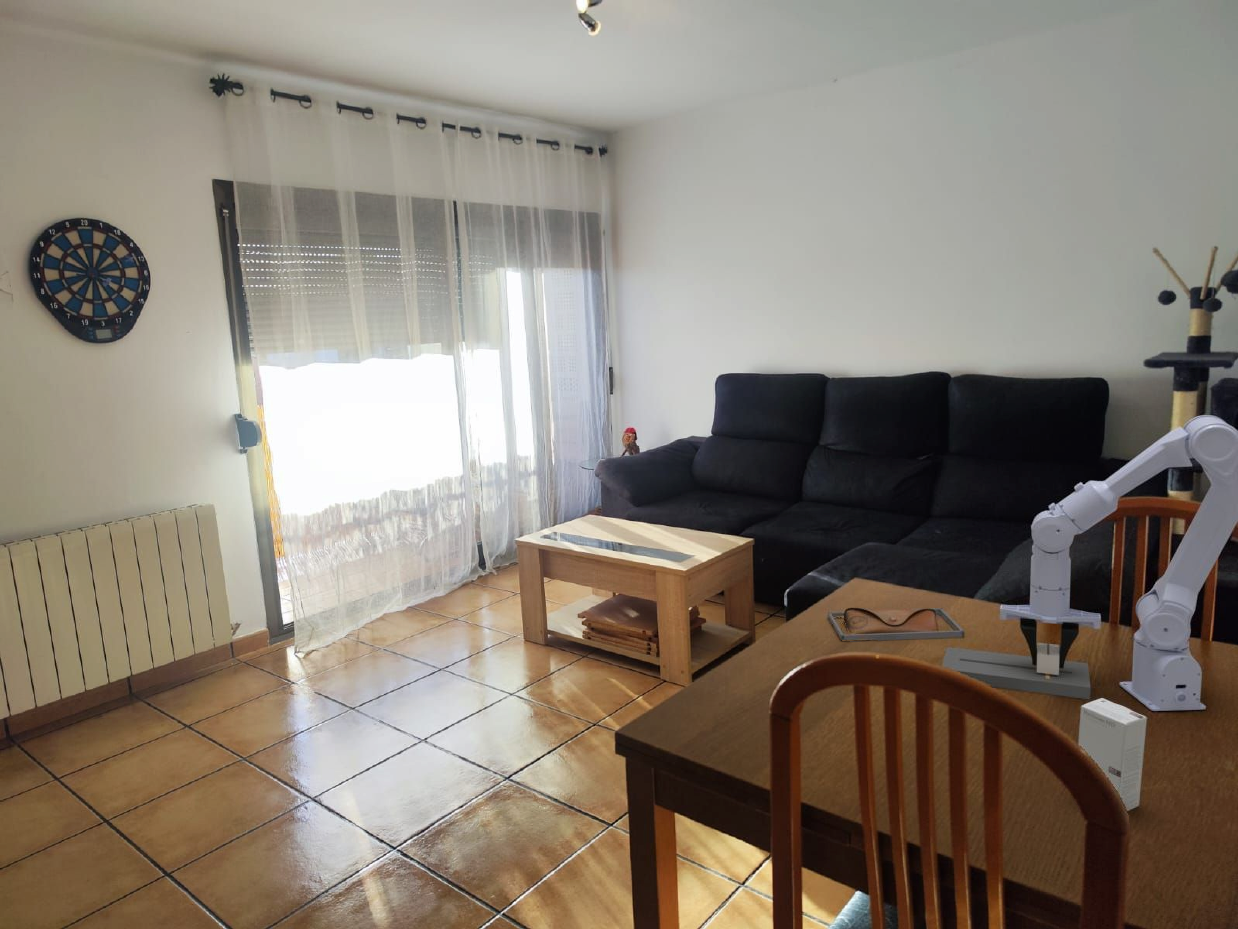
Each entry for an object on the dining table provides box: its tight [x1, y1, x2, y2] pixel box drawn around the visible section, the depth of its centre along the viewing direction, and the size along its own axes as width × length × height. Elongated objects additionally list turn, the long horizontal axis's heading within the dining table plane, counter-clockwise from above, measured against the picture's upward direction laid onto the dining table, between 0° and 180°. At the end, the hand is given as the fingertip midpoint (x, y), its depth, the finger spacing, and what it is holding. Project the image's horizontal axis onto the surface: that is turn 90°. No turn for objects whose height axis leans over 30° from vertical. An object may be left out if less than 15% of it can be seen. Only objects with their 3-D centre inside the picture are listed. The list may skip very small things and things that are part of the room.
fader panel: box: [941, 646, 1092, 701], centre depth 140 cm, size 22×10×2 cm, turn 63°
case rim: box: [827, 607, 965, 641], centre depth 165 cm, size 13×23×1 cm, turn 87°
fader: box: [1037, 642, 1060, 675], centre depth 138 cm, size 3×5×3 cm, turn 153°
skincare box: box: [1077, 697, 1148, 812], centre depth 104 cm, size 6×4×12 cm
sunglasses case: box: [843, 607, 940, 634], centre depth 164 cm, size 18×7×7 cm, turn 80°
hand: (1047, 664), depth 138 cm, fingers closed on fader, 3 cm apart
